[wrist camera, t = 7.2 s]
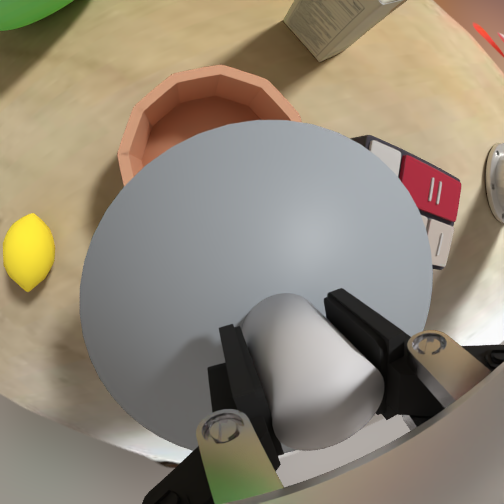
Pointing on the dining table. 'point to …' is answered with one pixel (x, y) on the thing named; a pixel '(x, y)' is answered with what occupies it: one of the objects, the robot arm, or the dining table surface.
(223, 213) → the lid
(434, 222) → the calculator
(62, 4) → the toy bird
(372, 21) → the skincare box
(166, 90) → the bowl
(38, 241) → the lemon
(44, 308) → the dining table surface
